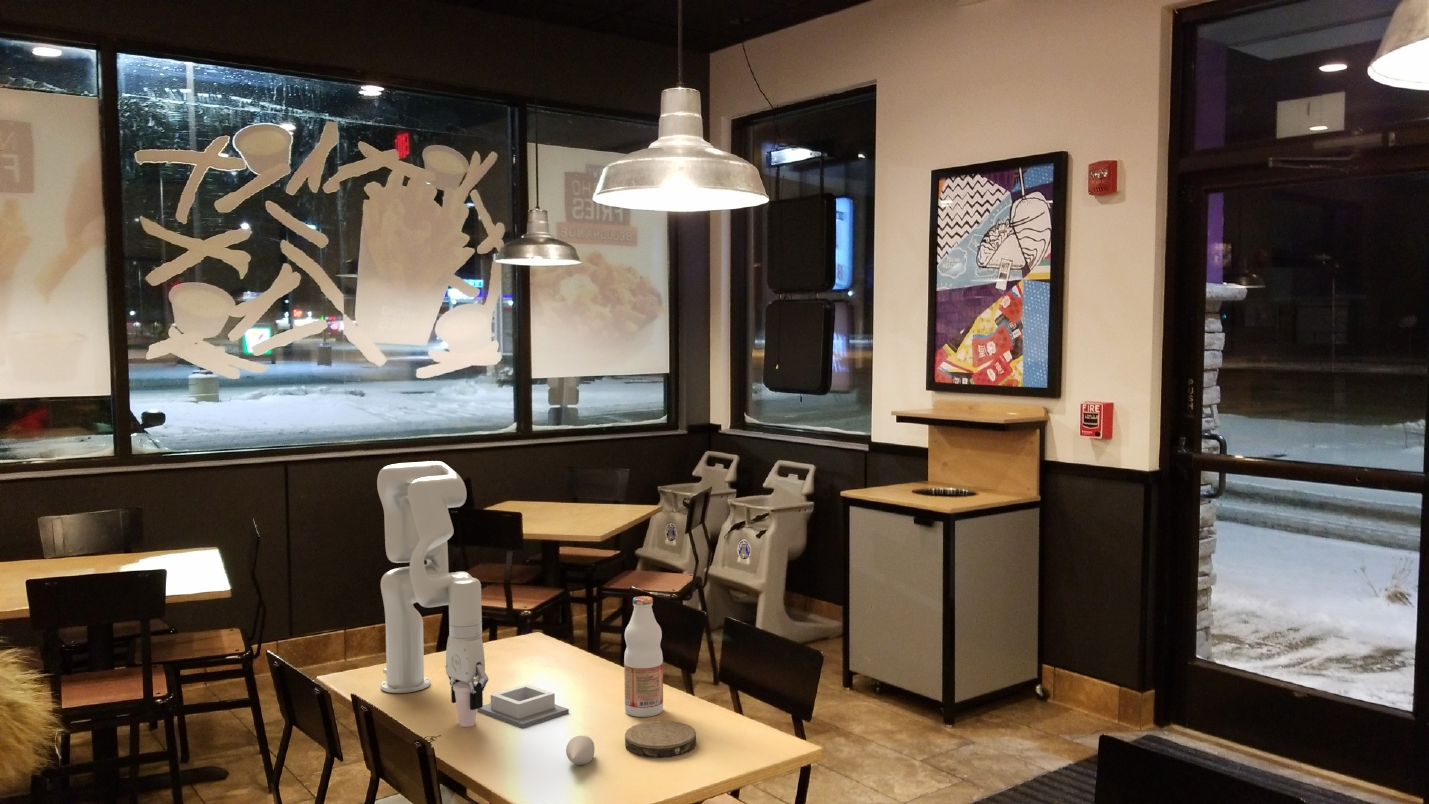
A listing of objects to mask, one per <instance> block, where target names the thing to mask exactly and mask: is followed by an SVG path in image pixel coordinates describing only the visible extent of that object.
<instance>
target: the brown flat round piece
mask: <svg viewBox="0 0 1429 804" xmlns="http://www.w3.org/2000/svg"><path fill="white" fill-rule="evenodd" d="M624 745H625V750H626V751H627V752H628V753H630V754H632V755H634V756H638V757H643V758H647V759H667V758H675V757H679V756H684V755H685V754H689V753H690V752H692V751H693V750H694V749H695V748H696V745H697V732H696V730H695V728H694V727H693V726H691V725H690V724H686V723H684V722H678V721H673V720H656V721H655V720H652V721H647V722H642V723H638V724H635V725H633V726H631V727H629V728H628V729H626V730H625V733H624Z"/></svg>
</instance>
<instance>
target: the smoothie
mask: <svg viewBox="0 0 1429 804" xmlns="http://www.w3.org/2000/svg"><path fill="white" fill-rule="evenodd" d="M474 685H475V686H476V685H477V681H476V682H474ZM453 690H454V691H455V698H456V703H455V704H456V709H457V715H458V723H459V725H458V726H460V727H462V728H469V727H473V726H475V725H476V721H477V720H476V719H477V713H478V711H477V709H475V710H471V709H470V693H472V692H471V688H470V685H469V682H468V683H466V682H462V681H459V682H457V683H455V684H454V685H453Z"/></svg>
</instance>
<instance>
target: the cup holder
mask: <svg viewBox="0 0 1429 804" xmlns="http://www.w3.org/2000/svg"><path fill="white" fill-rule="evenodd" d="M555 697H556V696H555V693H554V692H551V691H549V690H545V689H542V688H540V687H537V686H533V685H530V684H522V685H520V686H516V687H513V688H509V689H505V690H502V691H499V692H494V693H492V694H490V703H488V704H483V707H482V708H478V709H477V713H481V714H484V715H486V716H488V717H491V718H494V719H497V720H500V721H503V722H506V723H507V724H510V725H513V726H515V727H518V728H521V729H524V728H528V727H530V726H534V725H536V724H540V723H542V722H545V721H549V720H551V719H555V718H557V717H561V716H564V715H567V714H569V713H570V709H569V708H567V707H564V706H561V705H558V704H556V703H555V702H556V701H555V700H556V699H555Z"/></svg>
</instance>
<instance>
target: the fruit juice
mask: <svg viewBox="0 0 1429 804" xmlns="http://www.w3.org/2000/svg"><path fill="white" fill-rule="evenodd" d="M653 602H654V599H653V597H652V596H647V595H646V596H645V595H642V596H635V597H633V599H632V606H633V611H632V614H631V617H630V620H629V622H628V624H627V626H626V627H625V629H624V630H625V631H624V640H625V644H626V648H625V651H624V659H623V661H624V662H623V665H624V667H623V668H624V710H625V713H626V714H627V715H629V716H632V717H635V718H636V717H637V718H638V717H639V718H646V717H647V718H648V717H655V716H657V715H659V714H661V713H662V712H663V710H664V657H663V651H662V648H661V641H662V638H663V636H662V635H663V634H662V633H663V631H662V628H661V626H660V624H659V623H658V622H657V620H656V617H655V613H654V612H653V608H652V606H653V605H654V604H653Z"/></svg>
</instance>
